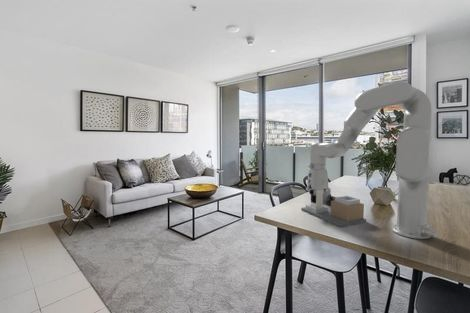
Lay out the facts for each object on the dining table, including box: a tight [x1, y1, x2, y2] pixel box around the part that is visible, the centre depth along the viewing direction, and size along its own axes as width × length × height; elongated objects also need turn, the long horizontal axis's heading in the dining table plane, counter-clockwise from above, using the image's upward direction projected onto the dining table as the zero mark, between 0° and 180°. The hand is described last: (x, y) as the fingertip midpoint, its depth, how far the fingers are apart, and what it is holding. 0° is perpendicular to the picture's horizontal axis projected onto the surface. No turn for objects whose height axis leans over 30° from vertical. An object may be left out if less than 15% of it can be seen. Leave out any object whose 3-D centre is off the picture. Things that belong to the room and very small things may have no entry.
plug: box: [310, 189, 324, 208], centre depth 122 cm, size 5×4×10 cm
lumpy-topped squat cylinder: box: [323, 186, 332, 204], centre depth 146 cm, size 10×13×9 cm
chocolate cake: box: [324, 193, 336, 207], centre depth 132 cm, size 10×7×12 cm
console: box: [301, 195, 367, 228], centre depth 117 cm, size 26×16×10 cm, turn 23°
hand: (316, 201), depth 122 cm, fingers closed on plug, 3 cm apart
